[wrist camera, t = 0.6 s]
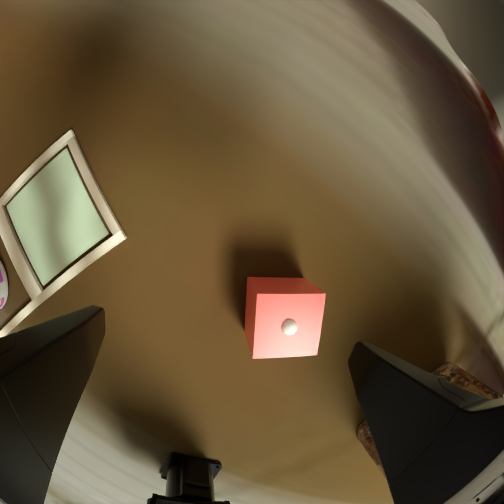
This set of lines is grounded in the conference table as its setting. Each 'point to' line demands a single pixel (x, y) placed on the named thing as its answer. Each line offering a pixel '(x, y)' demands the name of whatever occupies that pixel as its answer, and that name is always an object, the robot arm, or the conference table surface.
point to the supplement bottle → (3, 286)
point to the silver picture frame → (55, 222)
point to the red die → (283, 317)
